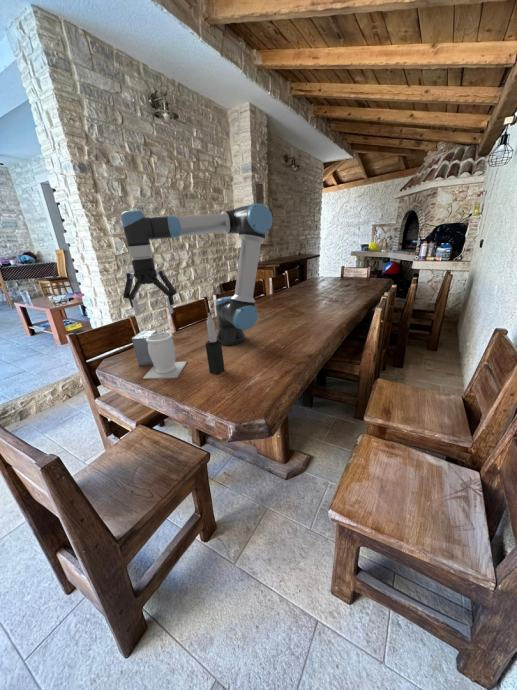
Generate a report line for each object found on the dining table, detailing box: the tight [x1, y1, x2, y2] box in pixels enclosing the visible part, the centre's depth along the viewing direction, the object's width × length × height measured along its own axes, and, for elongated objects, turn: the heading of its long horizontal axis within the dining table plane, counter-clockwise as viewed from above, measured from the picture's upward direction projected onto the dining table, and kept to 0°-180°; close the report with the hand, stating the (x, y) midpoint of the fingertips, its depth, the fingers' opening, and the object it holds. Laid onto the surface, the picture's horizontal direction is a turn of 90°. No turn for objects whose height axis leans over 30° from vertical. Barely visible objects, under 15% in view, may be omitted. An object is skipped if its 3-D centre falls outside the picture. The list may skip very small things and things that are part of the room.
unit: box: [131, 329, 158, 367], centre depth 127 cm, size 8×10×13 cm
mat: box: [142, 361, 188, 380], centre depth 118 cm, size 14×14×1 cm
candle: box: [204, 312, 225, 375], centre depth 110 cm, size 5×5×25 cm
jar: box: [146, 332, 176, 373], centre depth 115 cm, size 11×10×15 cm
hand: (154, 314), depth 109 cm, fingers open, 13 cm apart
